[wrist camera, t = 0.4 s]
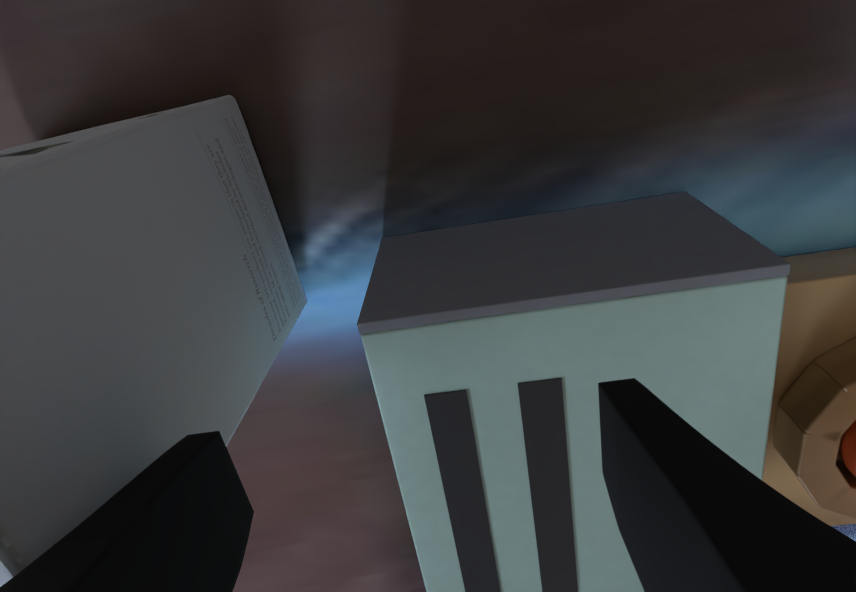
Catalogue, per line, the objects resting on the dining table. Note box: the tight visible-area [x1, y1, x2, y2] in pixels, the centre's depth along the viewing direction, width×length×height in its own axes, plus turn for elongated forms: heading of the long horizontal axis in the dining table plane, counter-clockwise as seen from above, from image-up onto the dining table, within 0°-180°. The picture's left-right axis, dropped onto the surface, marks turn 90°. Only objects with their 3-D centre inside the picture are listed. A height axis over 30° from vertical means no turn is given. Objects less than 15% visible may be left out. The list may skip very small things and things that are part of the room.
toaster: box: [357, 192, 791, 592], centre depth 19 cm, size 17×10×6 cm, turn 10°
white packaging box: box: [0, 95, 307, 587], centre depth 13 cm, size 7×7×13 cm
